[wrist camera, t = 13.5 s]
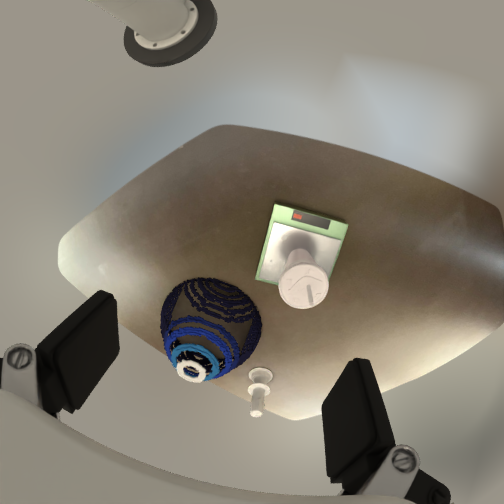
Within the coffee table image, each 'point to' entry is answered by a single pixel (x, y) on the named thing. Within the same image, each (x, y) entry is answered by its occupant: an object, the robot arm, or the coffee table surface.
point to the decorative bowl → (191, 348)
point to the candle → (259, 389)
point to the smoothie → (302, 281)
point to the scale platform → (296, 238)
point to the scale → (303, 227)
